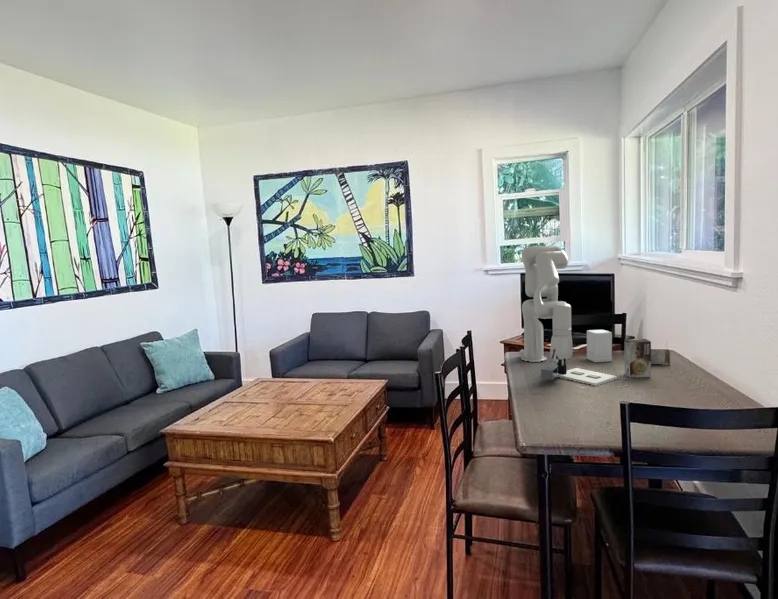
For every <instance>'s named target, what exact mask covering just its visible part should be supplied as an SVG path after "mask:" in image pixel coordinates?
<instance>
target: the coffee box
mask: <svg viewBox="0 0 778 599" xmlns="http://www.w3.org/2000/svg"><path fill="white" fill-rule="evenodd" d="M651 349H652V341H650V340H649V339H646V338H629V339H628V338H627V339H625V338H624V360H623V361H624V369H623V370H624V372H623V373H624V375H625V374H626V375H625V376H627V377H628V376H629V378H630V377H636V378H651V377H652V365H651Z"/></svg>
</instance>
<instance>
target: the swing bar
mask: <svg viewBox="0 0 778 599" xmlns="http://www.w3.org/2000/svg"><path fill="white" fill-rule="evenodd" d="M568 363H569V362H567V365H566V370H568V368H569V367H568V366H569V365H568ZM558 375H559V374H558V365H557V363H556V362H553V360H552V361H551V362H549V363H548V364H546V365H545V366H544V367H541V369H540V378H541V379H542V380H543V379H544V380H552V381H553V380H554V379H555V378H558V377H557V376H558Z"/></svg>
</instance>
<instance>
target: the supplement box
mask: <svg viewBox="0 0 778 599" xmlns="http://www.w3.org/2000/svg"><path fill="white" fill-rule="evenodd" d="M612 349H613V332H611V331H609V330H605V329H589V330H588V329H587V330H586V359H587V360H589V361H592V362H593V363H605V362H608V363H609V361H610V362H612V359H613V354H612V353H613V350H612Z"/></svg>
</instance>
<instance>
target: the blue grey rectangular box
mask: <svg viewBox="0 0 778 599" xmlns="http://www.w3.org/2000/svg"><path fill="white" fill-rule="evenodd" d="M671 352H672V350H671V349H668V348H651V364H663V365H662V366H667V365H666V364H669V365H668V366H671V358H672V357H671V356H672V355H671V354H672V353H671Z"/></svg>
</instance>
